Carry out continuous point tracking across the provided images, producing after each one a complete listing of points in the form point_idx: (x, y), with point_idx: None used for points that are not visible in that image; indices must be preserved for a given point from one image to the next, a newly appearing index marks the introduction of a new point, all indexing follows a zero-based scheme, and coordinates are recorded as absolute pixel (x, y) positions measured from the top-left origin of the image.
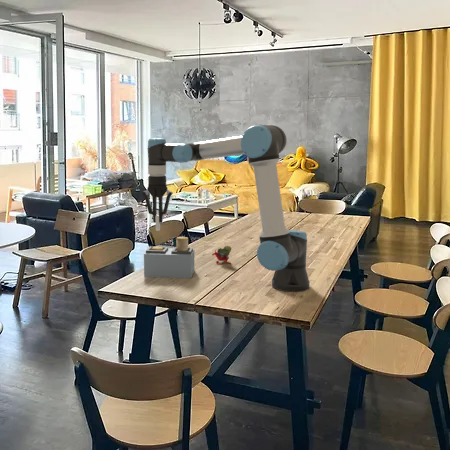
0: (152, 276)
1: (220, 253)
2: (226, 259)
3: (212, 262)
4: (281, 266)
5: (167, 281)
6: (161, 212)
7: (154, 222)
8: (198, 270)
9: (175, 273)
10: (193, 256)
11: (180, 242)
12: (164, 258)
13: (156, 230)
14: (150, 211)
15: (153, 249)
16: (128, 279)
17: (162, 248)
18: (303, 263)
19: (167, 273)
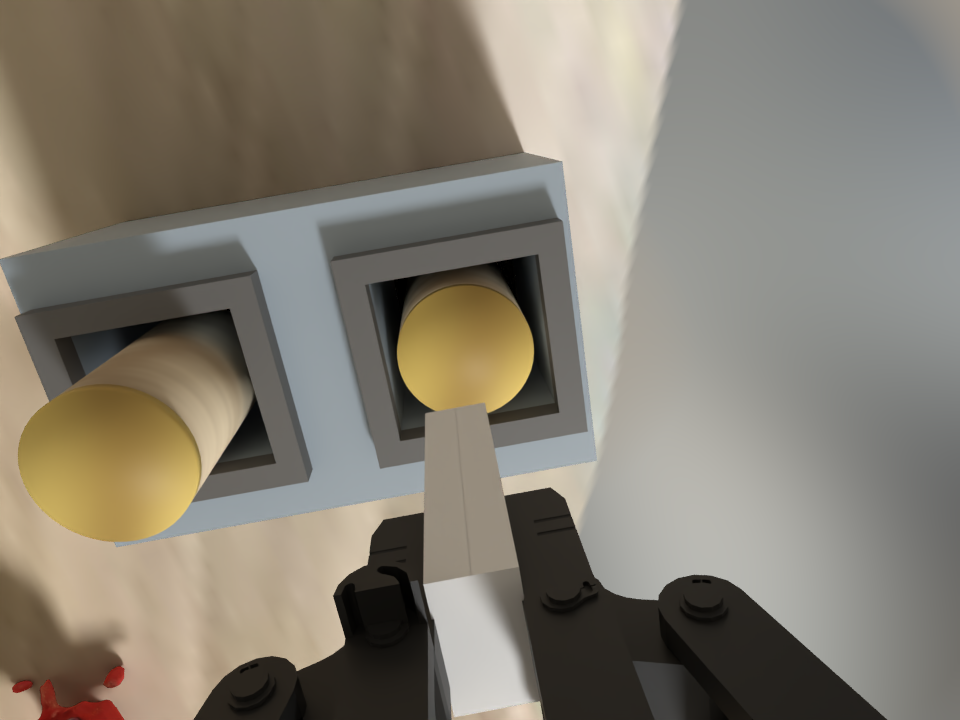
0: (453, 165)
1: None
2: (42, 716)
3: (168, 681)
4: None
5: (275, 67)
6: (342, 676)
7: (532, 493)
8: None
9: (246, 203)
10: None
11: (114, 373)
12: (323, 199)
13: (470, 406)
14: (700, 627)
15: (488, 290)
16: (629, 34)
17: (402, 362)
18: None
19: (318, 190)
